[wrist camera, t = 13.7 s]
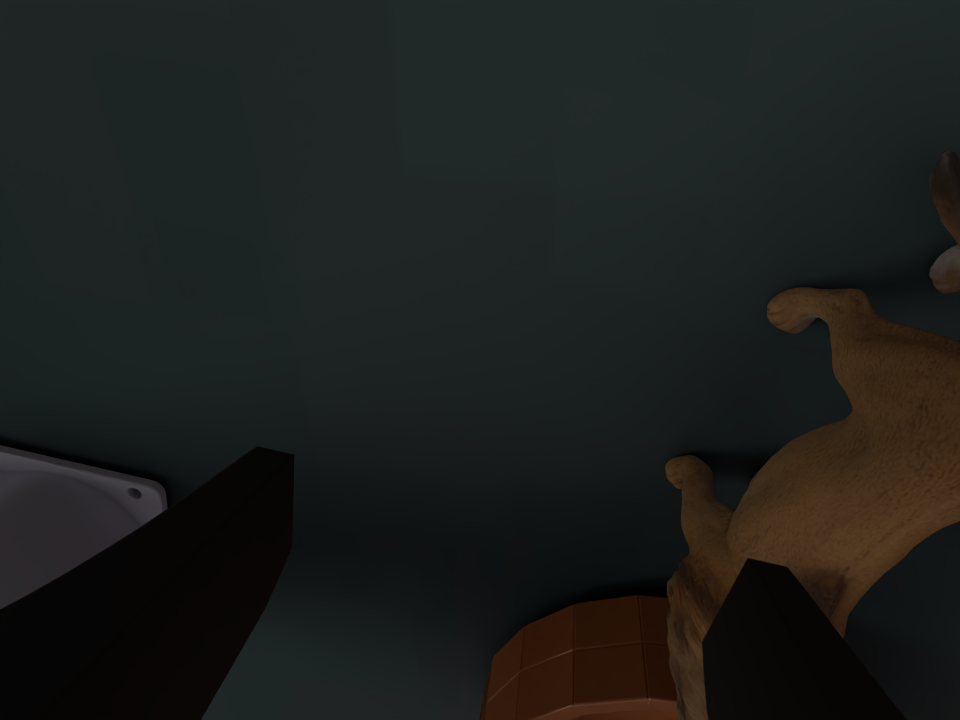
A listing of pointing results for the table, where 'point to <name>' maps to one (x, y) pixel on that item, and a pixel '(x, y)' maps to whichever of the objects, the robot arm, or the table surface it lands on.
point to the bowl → (586, 665)
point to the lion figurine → (833, 467)
